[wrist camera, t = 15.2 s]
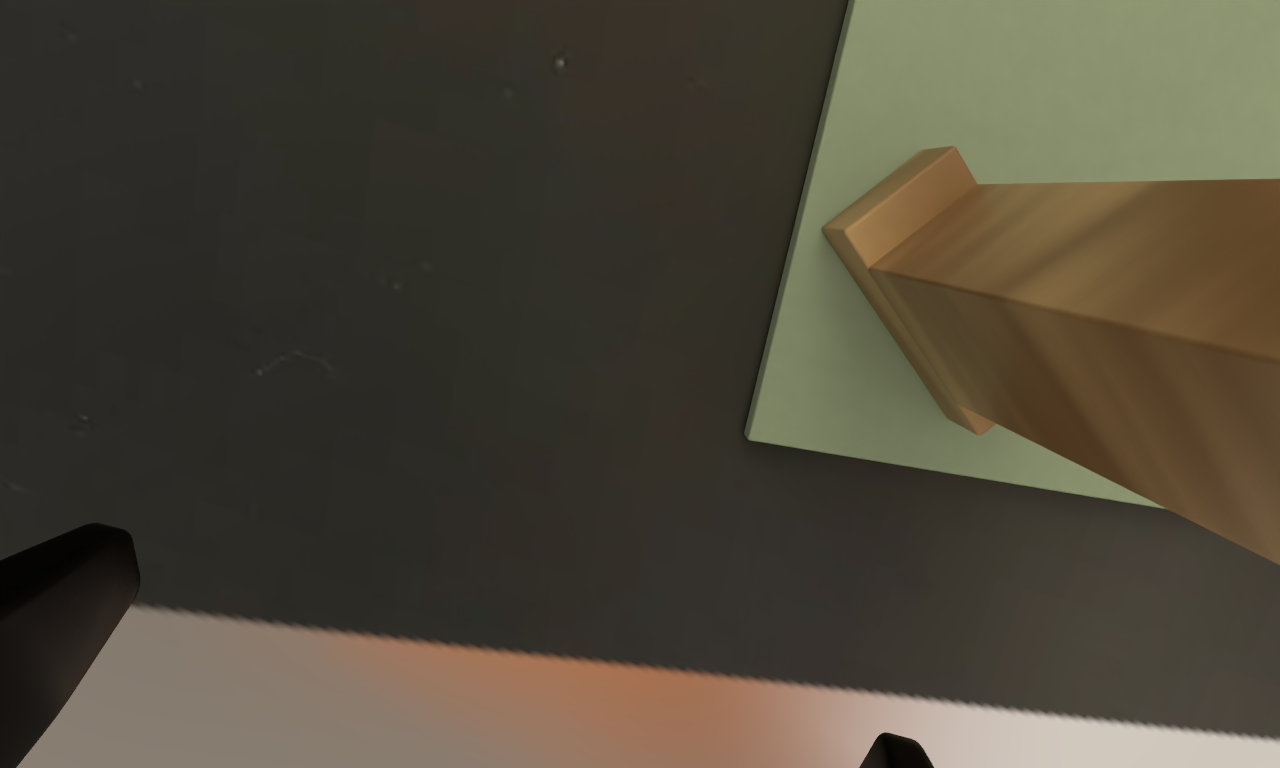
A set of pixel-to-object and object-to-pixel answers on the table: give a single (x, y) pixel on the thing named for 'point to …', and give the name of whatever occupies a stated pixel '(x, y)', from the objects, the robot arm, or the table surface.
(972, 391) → the letter I
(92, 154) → the table surface
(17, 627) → the robot arm
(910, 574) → the table surface
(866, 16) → the word mat
